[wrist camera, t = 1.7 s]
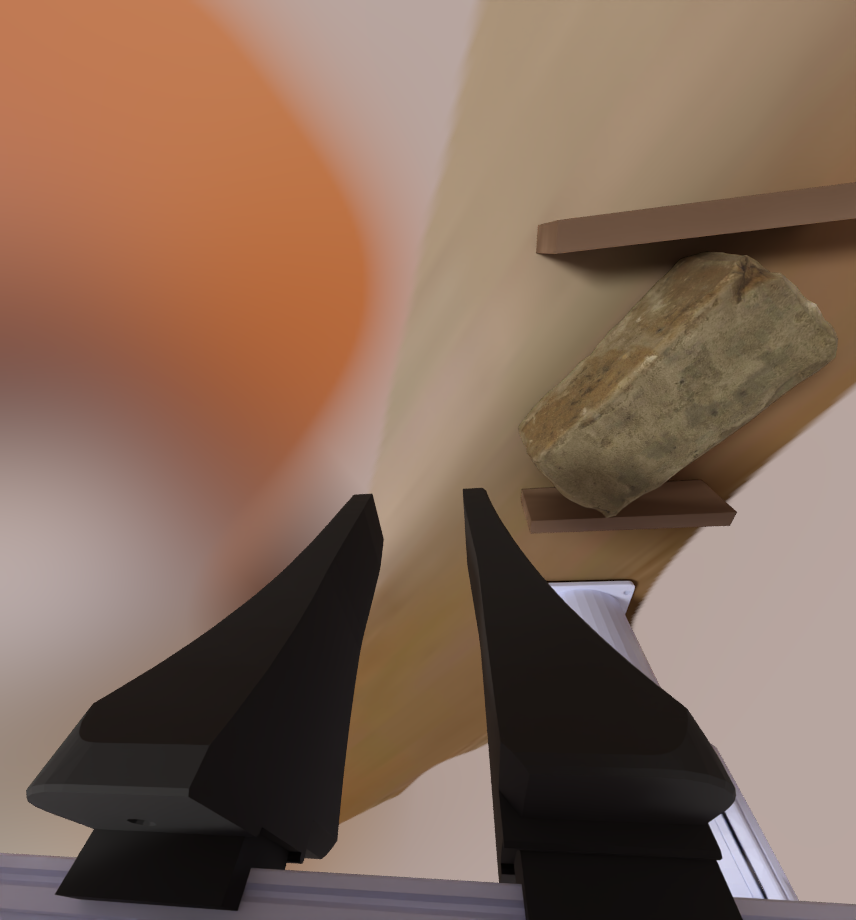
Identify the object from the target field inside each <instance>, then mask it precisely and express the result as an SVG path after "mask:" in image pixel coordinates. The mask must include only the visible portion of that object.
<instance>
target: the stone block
mask: <svg viewBox="0 0 856 920" xmlns="http://www.w3.org/2000/svg"><path fill="white" fill-rule="evenodd" d="M837 343H838V338H837V335H836V332H835V330H834V329H833V327H832V326H831V324H830V323H828V322H827V321H826V320H825V319H824V318H823V316H822V314H821V312H820V310H819V308H818V306H817V305H816V304H814V303H813V302H811V301H809V300H807V299H806V298H805V297H804V296H803V295H802V294H801V293H800V291H799V289H798V288H797V287H796V286H795V285H794V284H793V283H792V282H790V281H789V280H788V279H787V278H786V277H785V276H783V275H782V274H781V273H771V272H770V271H768V270H767V269H765V268H764V267H763V266H762V265H761V264H759V263H758V262H757V261H756V260H754V259H753V258H751V257H749V256H748V255H737V254H726V253H723V252H708V251H706V252H703V253H699V254H696V255H692V256H689V257H685V258H682V259H680V260H679V261H678V262H677V263H676V264H675V265H674V267H673V268H672V269H671V270H670V271H669V272H668V273H667V274H666V275H665V276H663V277H662V278H661V279H660V280H659V281H658V282H657V283H656V284H655V285H654V286H653V287H652V288H651V289H650V290H649V291H648V293H647V294H646V295H645V296H644V297H643V298H642V299H641V300H640V301H639V302H638V303H637V304H636V305H635V306H634V307H633V308H632V309H631V310H630V312H629V313H628V314H627V315H626V316H625V317H624V318H623V320H622V321H621V322H620V323H618V324H617V325H616V326H615V327H614V328H613V329H612V330H610V331H609V332H608V334H607V335H606V337H605V338H604V339H603V340H602V341H601V342H600V343H599V344H598V345H597V347H596V348H595V350H594V351H593V352H592V354H591V355H590V356H588V357H587V358H585V359H584V360H582V361H581V362H579V363H578V364H577V366H576V367H575V368H574V369H573V370H572V372H571V373H570V374H569V375H568V376H567V377H566V378H565V379H563V380H562V381H561V382H560V383H559V384H558V385H557V386H556V387H554V388H553V389H552V390H551V391H549V392H548V393H547V394H546V395H545V396H544V397H543V398H542V399H541V400H540V401H539V402H538V403H537V404H536V406H535V407H534V408H533V409H532V410H531V411H530V413H529V414H528V415H527V416H526V418H525V419H524V420H523V421H522V423H521V424H520V425H519V434H520V437H521V439H522V441H523V443H524V445H525V446H526V447H527V449H526V450H527V453H528V455H529V456H530V458H531V459H532V461H533V463H534V464H535V465H536V467H537V468H538V469H539V470H540V471H541V473H543V474H544V475H545V476H546V477H547V478H548V479H549V480H550V481H551V482H552V483H553V484H554V486H555V487H556V488H557V490H558V491H559V492H560V493H561V494H562V495H564V496H565V497H566V498H568V499H569V500H571V501H573V502H575V503H577V504H579V505H581V506H583V507H586V508H593V509H595V510H597V511H599V512H601V513H602V514H603V515H604V516H605V517H606V518H609V517H613V516H616V515H617V514H618V513H619V512H620V511H621V510H622V509H623V508H624V507H626V506H627V505H628V504H630V503H631V502H632V501H634V500H636V499H637V498H639V497H640V496H642V495H643V494H645V493H648V492H650V491H652V490H654V489H657V488H658V487H660V486H661V485H662V484H663V483H665V482H666V481H667V480H668V479H670V478H671V477H672V476H674V475H675V474H676V473H677V472H679V471H680V470H681V469H683V468H684V467H686V466H687V465H688V464H690V463H691V462H693V461H694V460H696V459H697V458H699V457H700V456H702V455H703V454H704V453H706V452H707V451H709V450H710V449H712V448H713V447H714V446H716V445H717V444H719V443H720V442H722V441H723V440H724V439H726V438H727V437H728V436H730V435H731V434H733V433H734V432H735V431H737V430H738V429H739V428H741V427H742V426H744V425H745V424H746V423H748V422H749V421H750V420H752V419H753V418H754V417H756V416H757V415H758V414H759V413H761V412H762V411H763V410H765V409H766V408H767V407H768V406H770V405H771V404H772V403H773V402H774V401H776V400H777V399H778V398H779V397H781V396H782V395H783V394H784V393H786V392H787V391H789V390H790V389H791V388H793V387H794V386H796V385H797V384H799V383H800V382H802V381H803V380H805V379H806V378H808V377H810V376H811V375H813V374H815V373H816V372H818V371H819V370H820V369H822V368H823V367H824V366H825V365H827V364H828V363H829V362H830V361H832V360H833V359H834V358H835V357H836V351H837Z"/></svg>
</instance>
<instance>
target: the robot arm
mask: <svg viewBox="0 0 856 920" xmlns="http://www.w3.org/2000/svg"><path fill="white" fill-rule="evenodd" d="M463 501H464V517H465V534H466V550H467V565H468V572H469V578H470V584H471V590H472V596H473V602H474V608H475V614H476V620H477V626H478V632H479V640H480V647H481V658H482V670H483V682H484V695H485V707H486V720H487V733H488V745H489V758H490V770H491V784H492V797H493V810H494V823H495V837H496V850H497V862H498V875H499V883H493V882H476V881H458V880H443V879H426V878H409V877H392V876H375V875H360V874H359V875H358V874H342V873H326V872H309V871H293V870H285V867H286V863H299V864H302V863H303V861H304V858H311V859H322V858H323V857H325V856H326V855H327V853H328V852H329V851H330V850H331V849H332V847H333V846H334V844H335V843H336V842H337V837H338V826H339V815H340V805H341V795H342V785H343V776H344V766H345V758H346V750H347V741H348V733H349V725H350V717H351V710H352V703H353V695H354V688H355V681H356V675H357V668H358V662H359V655H360V650H361V645H362V640H363V636H364V632H365V628H366V624H367V620H368V616H369V612H370V608H371V604H372V600H373V596H374V592H375V588H376V584H377V579H378V575H379V571H380V566H381V558H382V550H383V541H384V539H383V535H382V531H381V527H380V523H379V519H378V515H377V511H376V506H375V502H374V498H373V494H359V495H353V496H352V498H351V499H350V500H349V501H348V502H347V503H346V504H345V505H344V506H343V508H342V509H341V510H340V511H339V512H338V513H337V515H336V516H335V517H334V518H333V519H332V520H331V522H329V524H328V525H327V526H326V527H325V528H324V529H323V530H322V531H321V533H320V534H319V535H318V536H317V537H316V538H315V539H314V540H313V541H312V542H311V543H310V544H309V546H307V548H306V549H304V550H303V551H302V553H300V554H299V556H298V557H296V558H295V560H294V561H293V562H292V563H291V564H290V565H289V566H287V567H286V568H285V569H284V570H283V571H282V572H281V573H280V574H279V575H278V576H277V577H275V578H274V579H273V580H272V581H271V582H270V583H269V584H267V585H266V586H265V587H264V588H263V589H262V590H261V591H259V592H258V593H257V594H256V595H255V596H253V597H252V598H251V599H250V600H248V601H247V602H246V603H245V604H243V605H242V606H241V607H239V608H238V609H237V610H235V611H234V612H233V613H231V614H230V615H229V616H227V617H226V618H225V619H223V620H222V621H221V622H220V623H218V624H217V625H216V626H214V627H213V628H211V629H210V630H209V631H207V632H206V633H204V634H203V635H201V636H200V637H199V638H197V639H196V640H194V641H193V642H191V643H190V644H189V645H187V646H185V647H184V648H182V649H181V650H179V651H178V652H177V653H175V654H173V655H172V656H170V657H169V658H167V659H166V660H164V661H163V662H161V663H159V664H158V665H157V666H155V667H153V668H152V669H150V670H148V671H147V672H145V673H143V674H142V675H140V676H138V677H137V678H135V679H134V680H132V681H130V682H128V683H127V684H125V685H123V686H122V687H120V688H119V689H117V690H115V691H114V692H112V693H110V694H109V695H107V696H105V697H104V698H102V699H100V700H98V701H97V702H95V703H93V705H92V706H91V707H90V708H89V710H88V711H87V712H86V714H85V715H84V716H83V717H82V719H81V720H80V721H79V723H78V724H77V725H76V727H75V728H74V729H73V730H72V732H71V733H70V734H69V736H68V737H67V738H66V740H65V741H64V742H63V743H62V745H61V746H60V747H59V748H58V750H57V751H56V752H55V754H54V755H53V756H52V757H51V759H50V760H49V761H48V763H47V764H46V765H45V766H44V768H43V769H42V770H41V772H40V773H39V774H38V775H37V777H36V778H35V779H34V781H33V782H32V783H31V785H30V786H29V787H28V788H27V790H26V793H27V794H26V795H27V800H28V802H29V803H31V804H33V805H34V806H35V807H37V808H40V809H42V810H44V811H47V812H49V813H52V814H55V815H57V816H60V817H63V818H66V819H68V820H71V821H74V822H77V823H79V824H82V825H85V826H87V827H90V828H93V829H94V830H93V832H92V834H91V835H90V837H89V839H88V840H87V842H86V844H85V845H84V847H83V848H82V850H81V852H80V853H79V855H78V857H60V856H44V855H27V854H9V853H0V920H856V904H841V903H825V902H809V901H799V900H798V898H797V896H796V894H795V892H794V890H793V888H792V887H791V885H790V883H789V881H788V879H787V877H786V875H785V873H784V871H783V869H782V867H781V866H780V864H779V862H778V860H777V858H776V856H775V854H774V852H773V851H772V849H771V847H770V845H769V843H768V841H767V839H766V837H765V836H764V834H763V832H762V830H761V828H760V826H759V824H758V823H757V821H756V819H755V817H754V815H753V813H752V812H751V810H750V808H749V806H748V804H747V802H746V800H745V799H744V797H743V795H742V793H741V791H740V789H739V788H738V786H737V784H736V782H735V780H734V778H733V777H732V775H731V773H730V771H729V769H728V767H727V766H726V764H725V762H724V760H723V758H722V757H721V755H720V753H719V751H718V750H717V748H716V747H715V746H714V745H712V744H710V743H709V741H708V739H707V738H706V736H705V735H704V733H703V732H702V730H701V729H700V728H699V726H698V724H697V723H696V721H695V720H694V718H693V717H692V715H691V714H690V712H689V711H688V709H687V708H686V707H684V706H683V705H682V704H681V703H679V702H678V701H677V700H675V699H674V698H673V697H672V696H671V695H669V694H668V693H667V692H665V691H664V690H663V689H662V688H661V687H660V686H659V683H658V681H657V679H656V677H655V676H654V673H653V671H652V669H651V667H650V665H649V663H648V661H647V659H646V657H645V655H644V653H643V651H642V649H641V647H640V644H639V642H638V640H637V638H636V636H635V634H634V632H633V630H632V628H631V626H630V624H629V622H628V620H627V618H626V616H625V613H626V611H627V608H628V605H629V603H630V600H631V597H632V595H633V592H634V589H635V586H634V584H633V582H631V581H597V582H558V583H547V581H546V580H545V579H544V578H543V577H542V576H541V575H540V573H539V572H538V571H537V570H536V569H535V567H534V566H533V565H532V564H531V562H530V561H529V560H528V558H527V557H526V556H525V555H524V553H523V552H522V551H521V549H520V548H519V547H518V545H517V544H516V542H515V541H514V540H513V538H512V536H511V535H510V533H509V532H508V530H507V529H506V527H505V526H504V524H503V523H502V521H501V520H500V518H499V516H498V514H497V513H496V511H495V509H494V507H493V505H492V503H491V501H490V499H489V497H488V495H487V492H486V490H484V489H483V488H472V489H463ZM754 872H755V873H754ZM755 874H756V875H755ZM756 876H757V877H756ZM757 878H758V879H757ZM758 880H759V881H758ZM759 882H760V883H759ZM760 884H761V885H760ZM761 886H762V887H761ZM762 888H763V889H762ZM763 890H764V891H763Z"/></svg>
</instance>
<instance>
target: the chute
mask: <svg viewBox="0 0 856 920" xmlns="http://www.w3.org/2000/svg"><path fill="white" fill-rule="evenodd" d="M854 218H856V182H854V183H846V184H838V185H830V186H822V187H815V188H807V189H799V190H791V191H783V192H775V193H768V194H760V195H752V196H744V197H736V198H728V199H721V200H713V201H705V202H697V203H689V204H681V205H674V206H666V207H658V208H650V209H642V210H634V211H627V212H619V213H611V214H603V215H595V216H587V217H580V218H572V219H564V220H557V221H553V222H549V223H545V224H541V225H538V233H537V249H536V253H547V254H558V253H567V252H575V251H584V250H592V249H601V248H609V247H618V246H626V245H635V244H643V243H651V242H660V241H668V240H677V239H685V238H694V237H702V236H711V235H719V234H728V233H736V232H744V231H753V230H761V229H770V228H778V227H787V226H795V225H804V224H812V223H821V222H829V221H838V220H846V219H854ZM521 503H522V506H523V510H524V513H525V516H526V520H527V523H528V527H529V530H530V533H555V532H580V531H605V530H630V529H656V528H681V527H706V526H730V524H731V523H732V521H733V519H734V517H735V515H736V513H737V512H736V511H735V510H734V509H733V508H732V507H731V506H730V505H729V504H727V503H726V502H725V501H724V500H723V499H722V498H721V497H720V496H719V495H717V494H716V493H715V492H714V491H713V490H712V489H711V488H710V487H709V486H708V485H706V484H705V483H704V482H703V481H702V480H689V481H669V482H665V483H663V484H662V485H661V486H660V487H658V488H657V489H654V490H652V491H650V492H648V493H645V494H643V495H642V496H640V497H639V498H637V499H636V500H634V501H632V502H631V503H630V504H628V505H627V506H626V507H624V508H623V509H622V510H621V511H620V512H619V513H618V514H617V515H616V516H613V517H609V518H606V517H605V516H604V515H603V514H602V513H601V512H599V511H597V510H595V509H593V508H586V507H583V506H581V505H579V504H577V503H575V502H573V501H571V500H569V499H568V498H566V497H565V496H564V495H562V494H561V493H560V492H559V491H558V490H557V488H556V487H555V488H536V489H522V492H521Z"/></svg>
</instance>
